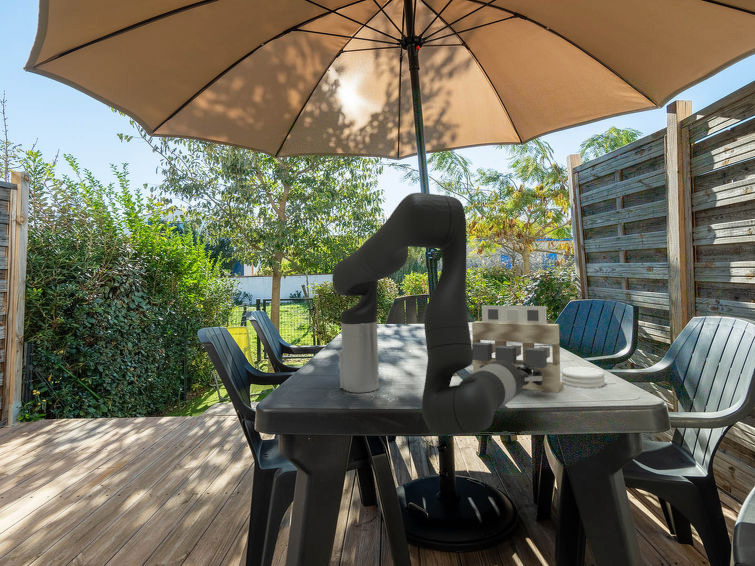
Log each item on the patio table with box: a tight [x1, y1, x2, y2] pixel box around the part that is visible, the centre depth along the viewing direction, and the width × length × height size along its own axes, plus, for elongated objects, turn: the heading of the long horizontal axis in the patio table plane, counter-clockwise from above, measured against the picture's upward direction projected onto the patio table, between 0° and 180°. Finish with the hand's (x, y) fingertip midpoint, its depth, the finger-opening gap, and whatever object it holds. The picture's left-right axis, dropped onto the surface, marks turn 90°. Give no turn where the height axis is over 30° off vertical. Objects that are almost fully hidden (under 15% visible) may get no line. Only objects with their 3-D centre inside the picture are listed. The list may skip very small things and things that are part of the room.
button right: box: [525, 346, 551, 368], centre depth 108 cm, size 4×10×4 cm, turn 146°
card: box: [481, 304, 548, 325], centre depth 114 cm, size 16×1×4 cm, turn 56°
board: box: [471, 320, 564, 394], centre depth 116 cm, size 21×6×16 cm, turn 56°
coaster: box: [561, 366, 606, 389], centre depth 115 cm, size 10×10×4 cm
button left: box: [471, 341, 495, 361], centre depth 118 cm, size 4×10×4 cm, turn 146°
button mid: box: [496, 344, 522, 364], centre depth 112 cm, size 4×10×4 cm, turn 146°
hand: (522, 366), depth 96 cm, fingers closed
